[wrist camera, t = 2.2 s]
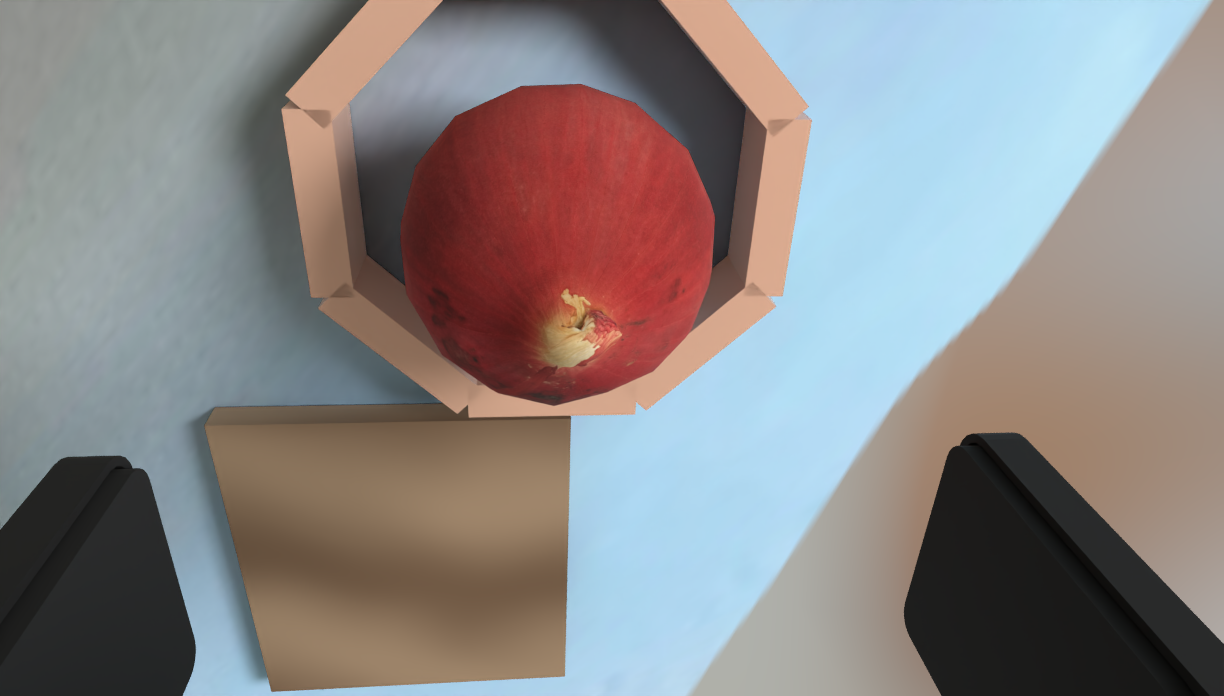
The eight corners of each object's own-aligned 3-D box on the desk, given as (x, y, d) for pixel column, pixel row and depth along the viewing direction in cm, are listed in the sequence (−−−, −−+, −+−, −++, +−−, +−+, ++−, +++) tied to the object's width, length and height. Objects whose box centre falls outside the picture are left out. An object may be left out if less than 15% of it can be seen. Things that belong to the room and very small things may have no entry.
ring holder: (278, -86, 15) (251, -82, 14) (811, -63, 16) (840, -56, 15) (344, 378, 21) (330, 419, 19) (745, 373, 22) (763, 411, 20)
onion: (625, 322, 21) (677, 547, 14) (397, 259, 19) (327, 475, 12) (716, 100, 18) (837, 240, 11) (461, 8, 17) (417, 103, 10)
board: (214, 407, 21) (204, 425, 20) (569, 401, 22) (570, 419, 21) (278, 669, 26) (271, 691, 25) (563, 655, 27) (564, 676, 26)
